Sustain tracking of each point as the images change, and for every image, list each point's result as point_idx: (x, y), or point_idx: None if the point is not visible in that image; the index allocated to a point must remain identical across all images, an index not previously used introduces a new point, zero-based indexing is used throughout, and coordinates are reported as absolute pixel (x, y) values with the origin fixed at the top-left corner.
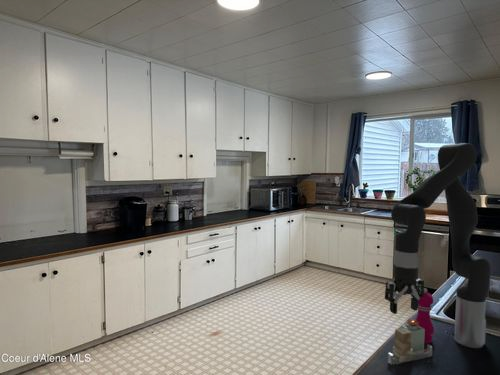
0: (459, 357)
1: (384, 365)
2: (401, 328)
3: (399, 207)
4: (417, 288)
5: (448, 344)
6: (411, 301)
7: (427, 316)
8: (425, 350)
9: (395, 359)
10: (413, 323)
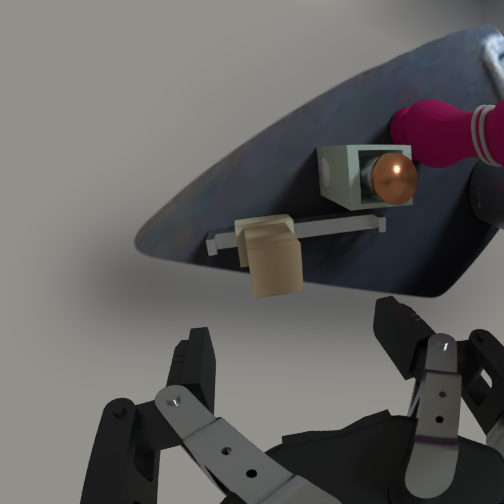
0: (426, 243)
1: (191, 239)
2: (284, 249)
3: None
4: (491, 394)
5: (449, 182)
6: (402, 328)
7: (470, 156)
8: (361, 222)
9: (227, 246)
10: (384, 200)
